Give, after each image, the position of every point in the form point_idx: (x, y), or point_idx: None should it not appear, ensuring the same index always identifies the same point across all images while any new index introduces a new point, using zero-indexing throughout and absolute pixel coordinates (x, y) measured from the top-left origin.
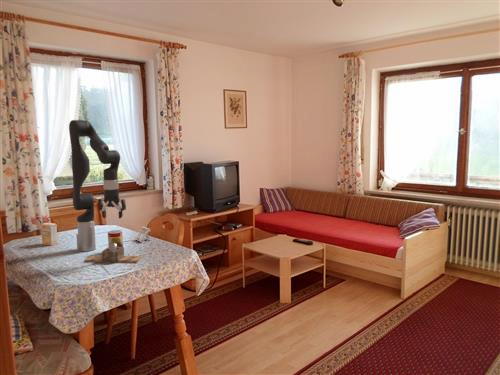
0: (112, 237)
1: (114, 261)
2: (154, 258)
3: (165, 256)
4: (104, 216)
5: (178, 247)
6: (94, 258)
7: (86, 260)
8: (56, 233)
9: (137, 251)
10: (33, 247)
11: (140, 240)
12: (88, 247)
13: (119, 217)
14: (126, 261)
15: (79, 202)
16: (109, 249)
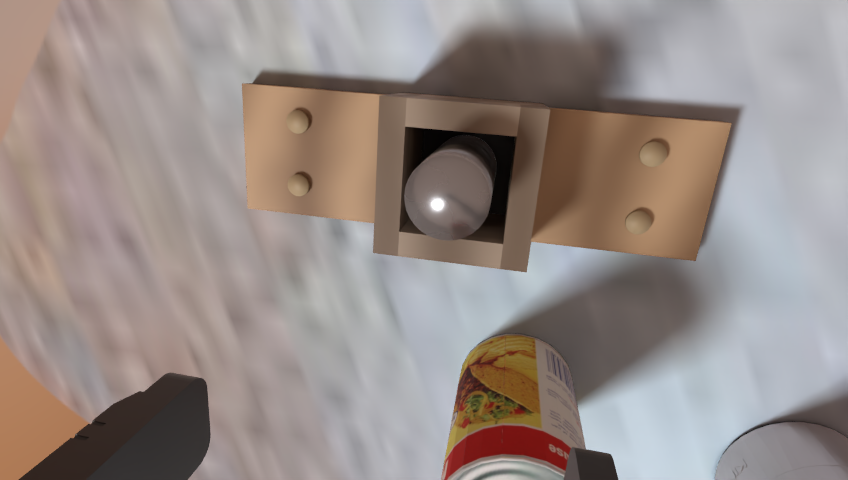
0: (523, 424)
1: (433, 95)
2: (164, 192)
3: (109, 235)
4: (578, 474)
5: None
6: (638, 161)
7: (706, 121)
8: None
9: (350, 373)
10: None
11: None
12: (779, 448)
13: (170, 381)
14: (329, 90)
15: None
16: (483, 161)
